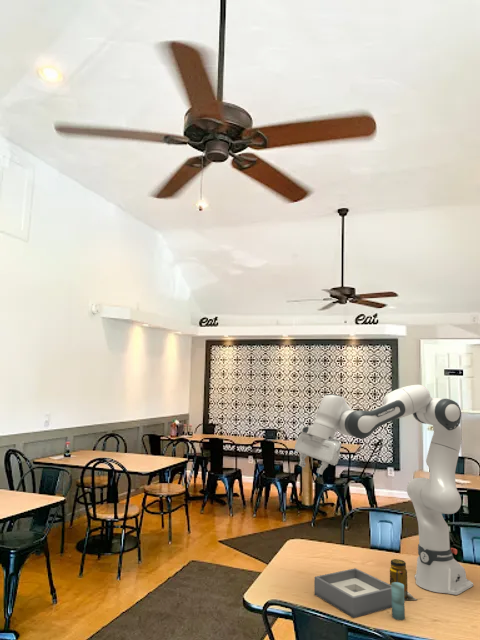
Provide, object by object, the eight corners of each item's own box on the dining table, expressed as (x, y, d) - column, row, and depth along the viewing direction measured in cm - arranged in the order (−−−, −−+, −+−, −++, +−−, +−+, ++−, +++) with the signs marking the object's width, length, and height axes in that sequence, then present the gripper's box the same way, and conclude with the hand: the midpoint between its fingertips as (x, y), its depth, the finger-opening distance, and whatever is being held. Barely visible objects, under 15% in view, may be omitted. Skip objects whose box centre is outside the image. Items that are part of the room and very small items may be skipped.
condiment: (386, 592, 173) (385, 557, 175) (408, 592, 174) (407, 557, 176) (394, 601, 166) (393, 564, 168) (417, 600, 167) (416, 564, 168)
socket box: (355, 585, 179) (355, 568, 180) (396, 606, 162) (396, 587, 163) (314, 594, 169) (314, 576, 170) (353, 618, 152) (353, 598, 153)
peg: (397, 613, 156) (397, 581, 158) (407, 618, 153) (406, 585, 154) (389, 615, 154) (388, 583, 156) (398, 621, 151) (398, 587, 152)
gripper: (347, 443, 171) (336, 480, 167) (309, 431, 187) (298, 465, 184) (336, 437, 167) (324, 475, 164) (298, 426, 184) (286, 460, 181)
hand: (310, 470), depth 174 cm, fingers open, 8 cm apart
